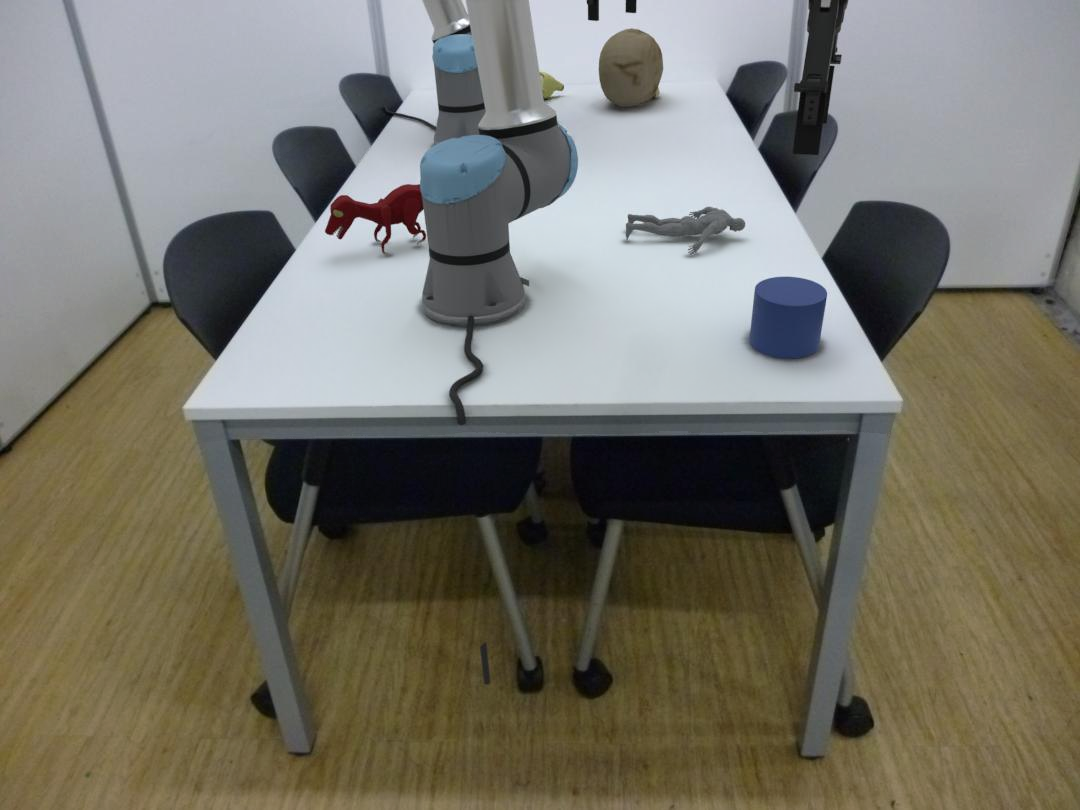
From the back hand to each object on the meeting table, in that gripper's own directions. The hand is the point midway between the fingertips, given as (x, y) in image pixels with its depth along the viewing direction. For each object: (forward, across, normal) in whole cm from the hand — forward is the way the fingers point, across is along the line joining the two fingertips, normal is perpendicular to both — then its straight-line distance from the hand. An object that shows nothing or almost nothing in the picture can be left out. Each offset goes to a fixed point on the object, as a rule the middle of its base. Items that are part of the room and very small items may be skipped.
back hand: (612, 16), depth 196 cm
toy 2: (+25, +10, +36) cm, 45 cm away
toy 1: (+25, -84, -23) cm, 90 cm away
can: (+25, -73, -91) cm, 120 cm away
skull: (+25, +23, +12) cm, 36 cm away
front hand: (-2, -73, -91) cm, 117 cm away
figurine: (+25, -50, -59) cm, 82 cm away
